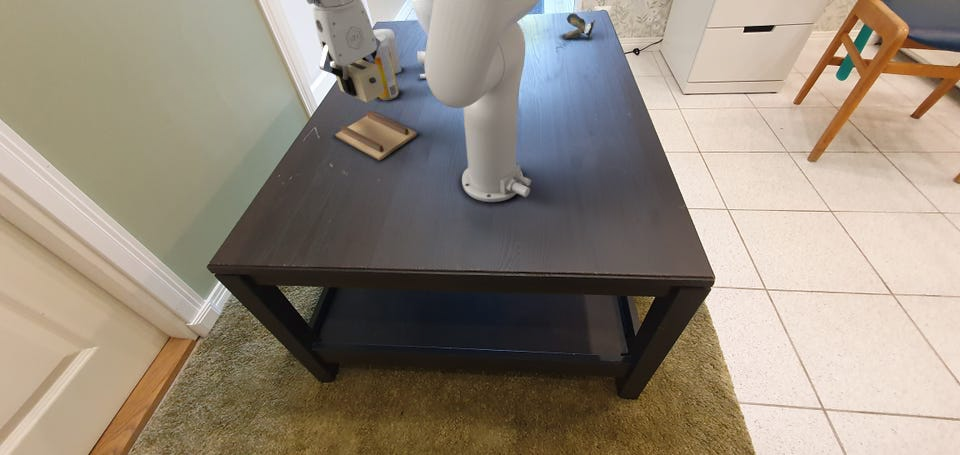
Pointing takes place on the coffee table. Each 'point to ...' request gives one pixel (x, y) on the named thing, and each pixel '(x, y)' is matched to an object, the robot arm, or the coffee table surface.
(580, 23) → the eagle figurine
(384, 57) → the beer can
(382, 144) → the cradle
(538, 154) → the coffee table surface
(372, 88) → the toaster
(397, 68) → the white curved piece
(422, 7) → the vase
